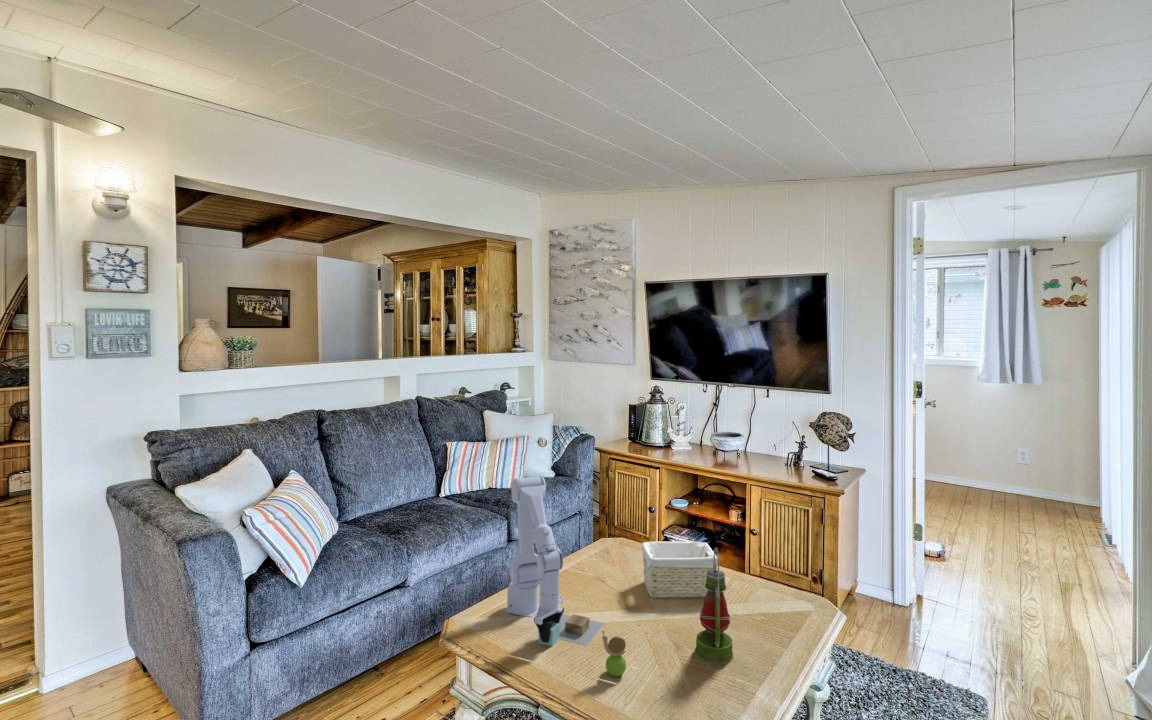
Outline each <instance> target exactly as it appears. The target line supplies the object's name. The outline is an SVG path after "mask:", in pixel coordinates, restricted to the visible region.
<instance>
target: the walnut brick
mask: <svg viewBox="0 0 1152 720" xmlns="http://www.w3.org/2000/svg"><path fill="white" fill-rule="evenodd" d="M570 616H571V617H570V618H569V619H568V620H567V621H566V622H565V632H567V633H571V634H576V635H580V636H583V634H584V633H585V632H586V631H587V629H588V628H589V620H590V617H587V616H583V615H579V614H578V615H577V614H574V613H573V614H572V613H571V615H570Z"/></svg>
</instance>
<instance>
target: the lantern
mask: <svg viewBox="0 0 1152 720" xmlns="http://www.w3.org/2000/svg"><path fill="white" fill-rule="evenodd" d="M713 552H714V560H713V570H710V571H707V579H706V584H705V588H706V589H708V592H707V594H706V597H704V600H703V605H702V608H701V609H700V610H699V611H700V612H699V620H700V625H701V626H702V627H703V628H704V629H705V630H702V631H699V632H698V633H697V634H696V639H695V640H696V641H695V645H696V646H695V650H694V654H695V655H696V657H697V658H698V659H700V660H701V661H703V662H705V663H708V664H712V665H725V664H728V663H730V662H732V660H733V659H734V653H733V639H732V637H731V636H730V635H729V634H727V633H725V631H726V630H727V629H729V626H730V623H731V615H730V614H729V610H728V604H727V600H726V597H725V594H724V592H725V591H726V590H727V586H726V573H725V572H723V571H721V570H720V556H719V555H720V552H719V550H718V547H714V549H713ZM715 555H716V556H717V559H718V560H717V565H716V563H715ZM714 569H715V570H714Z"/></svg>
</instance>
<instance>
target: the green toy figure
mask: <svg viewBox="0 0 1152 720" xmlns="http://www.w3.org/2000/svg"><path fill="white" fill-rule="evenodd" d="M601 633H602V636H601V637H602V642H603V646H604V650H605V651H606V653H607V654H608V655H609V656H608V657H606V660H605V669H606V672H607V673H608V674H609V675H610V676H611V677H616V678H617V677H620V676H622V675H623V674H624V673H625V671H626V669H627V662H626V659H625V657H624V656H623V655H624V654H626V650H625V649H626V646H627V645H626V641H625V639H624V638H623V637H621V636H618V635H616V636H614V637H612V638H610V640H609V641H608V636H607V635H606V634H605V630H602V632H601Z"/></svg>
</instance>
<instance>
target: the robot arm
mask: <svg viewBox="0 0 1152 720" xmlns="http://www.w3.org/2000/svg"><path fill="white" fill-rule="evenodd" d="M510 487H511V500H512V502H513V503H516V507H517V522H518V523H517V524H518V525H517V528H518V529H517V530H518V553H517V554H516V555H515V556H514V557H513V558H512V559H511V561H510V569H509V578H510V583H509V585H508V587H507V592H506V594H507V595H506V597H507V598H506V599H507V602H506V603H507V605H506V606H507V607H506V608H507V609H506V613H509V614H514V615H518V616H522V617H523V616H525V617H528V618H533V622H534V624H535V625H536V627H537V630H538V634H539V633H540V637H541V641H542V642H546V643H548V642H549V639H550V631H551V627H552V624H553V622H554V623H559V622H560V618H561V616H562V615H563V614H564V612H565V608H564V607H561V605H563V603H564V597H563V596H561V595H560V570H562V569H563V568H564V567H563V565H564V558H563V554H562V551H561V550H560V548H559V546H558V545H557V544H556V541H555V537H554V533H553V530H552V529H553V528H552V527H551V526H549V525H548V524H547V518H546V512H545V511H546V510H545V505H544V498H545V497H546V491H547V483H546V480H545V478H544V476H542V475H539V476H529V477H521V478H520V477H519V478H517V477H515V478H514V479H513V480H512V482H511V486H510ZM534 528H535V529H534ZM535 548H536V553H535Z"/></svg>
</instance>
